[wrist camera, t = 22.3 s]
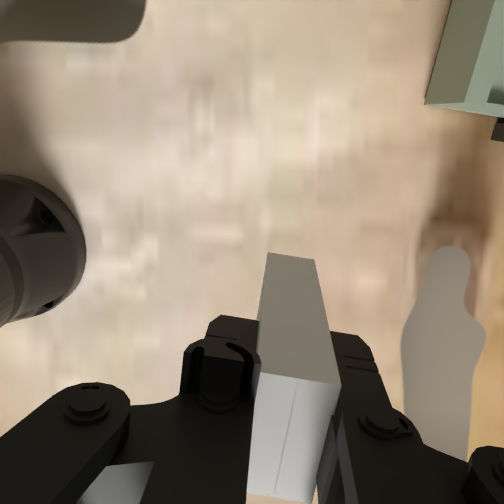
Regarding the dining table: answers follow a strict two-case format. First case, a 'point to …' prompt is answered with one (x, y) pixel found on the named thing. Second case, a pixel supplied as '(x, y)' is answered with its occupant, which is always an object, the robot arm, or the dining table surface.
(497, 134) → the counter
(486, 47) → the tray
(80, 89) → the dining table surface
